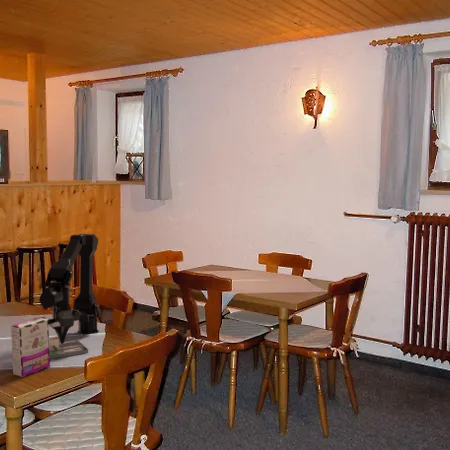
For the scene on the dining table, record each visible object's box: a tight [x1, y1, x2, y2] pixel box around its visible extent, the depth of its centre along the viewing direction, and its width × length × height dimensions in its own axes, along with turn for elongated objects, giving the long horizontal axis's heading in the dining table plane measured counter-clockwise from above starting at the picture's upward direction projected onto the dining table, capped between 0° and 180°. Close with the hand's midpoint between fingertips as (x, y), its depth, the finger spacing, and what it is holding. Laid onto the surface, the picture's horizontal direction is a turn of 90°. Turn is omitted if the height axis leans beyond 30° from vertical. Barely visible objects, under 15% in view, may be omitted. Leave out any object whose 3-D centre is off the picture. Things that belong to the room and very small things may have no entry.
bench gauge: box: [49, 339, 89, 360], centre depth 194 cm, size 19×13×5 cm
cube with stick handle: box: [49, 335, 60, 350], centre depth 192 cm, size 4×8×4 cm, turn 33°
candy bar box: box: [10, 316, 51, 378], centre depth 175 cm, size 11×5×16 cm, turn 148°
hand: (61, 343), depth 195 cm, fingers closed
